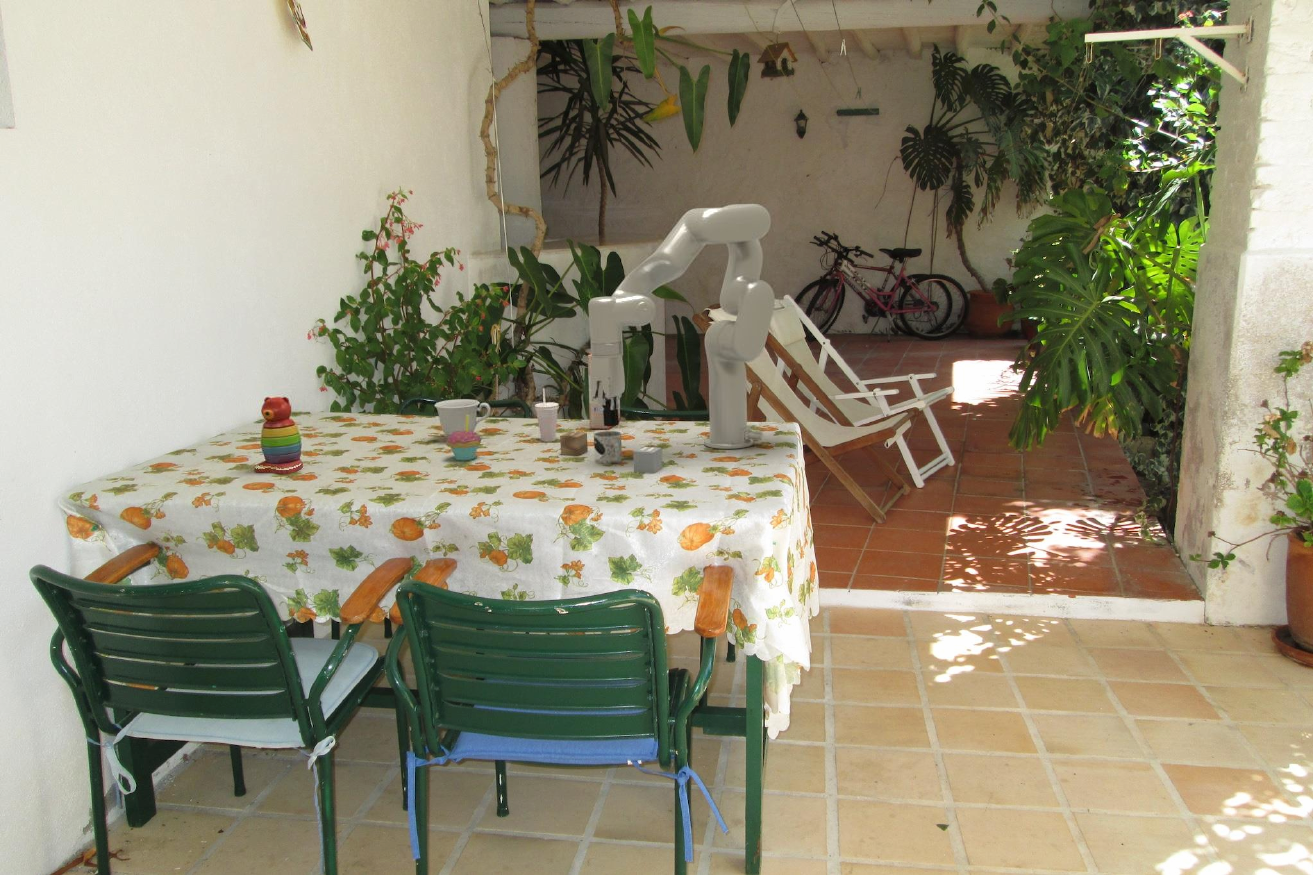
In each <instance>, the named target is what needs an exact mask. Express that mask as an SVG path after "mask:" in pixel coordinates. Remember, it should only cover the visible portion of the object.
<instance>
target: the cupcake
mask: <svg viewBox="0 0 1313 875" xmlns="http://www.w3.org/2000/svg"><path fill="white" fill-rule="evenodd" d="M468 414H469V412H468ZM468 414H467V415H466V429H465V431H457V432H453V433H452V434H451V435H449V436H448V435H447V438H446V441H445V445H446V446H447V447H448V448H450V449H451V451H452V453H453V455H454V458H455V460H457V461H461V462H462V461H471V460H474V459H475V458H476V454H477V452H478V451H477V450H478V448H479V446H480V445H481V441H482V437H481V436H480V435H479V434H478V433H477V432H475V431H474V432H472V431H470V430H468V424H469V415H468Z"/></svg>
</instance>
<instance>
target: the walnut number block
mask: <svg viewBox="0 0 1313 875" xmlns="http://www.w3.org/2000/svg"><path fill="white" fill-rule="evenodd" d="M559 441H560V455H561V456H571V457H572V456H573V457H580V456H582V455H584V454H587V453H588V452H589V450H588V449H589V446H588V444H589V443H588V432H585V431H584V432H583V431H582V432H581V431H567V432H566V433H563V434H560V435H559Z"/></svg>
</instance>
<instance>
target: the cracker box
mask: <svg viewBox="0 0 1313 875" xmlns="http://www.w3.org/2000/svg"><path fill="white" fill-rule="evenodd" d="M591 360H592V357H591V353H590V354H588V355H587V368H588V369H587V371H588V372H587V373H588V377H587V378H588V404H589V406H588V408H589V429H591V430H609V429H611V428H612V427H613V426H604V418H603V410H602V405H598V398H596V399H593V398H592V397H591ZM620 401H621V398H620V399H619V407H618V419H619V421H621V412H620V411H621V402H620Z"/></svg>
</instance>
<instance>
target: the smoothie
mask: <svg viewBox="0 0 1313 875" xmlns="http://www.w3.org/2000/svg"><path fill="white" fill-rule="evenodd" d="M542 400H543V402H540V403H536V404H535V405H534V410H535V411H536V416H537V422H538V428H539V433H540V438H541V441H542V442H548V443H549V442H555V441H556V438H557V436H556V435H557V422H558V409H559V408H560V406H559V403H557V402H546V390H545V388H544V387H543V388H542Z"/></svg>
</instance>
